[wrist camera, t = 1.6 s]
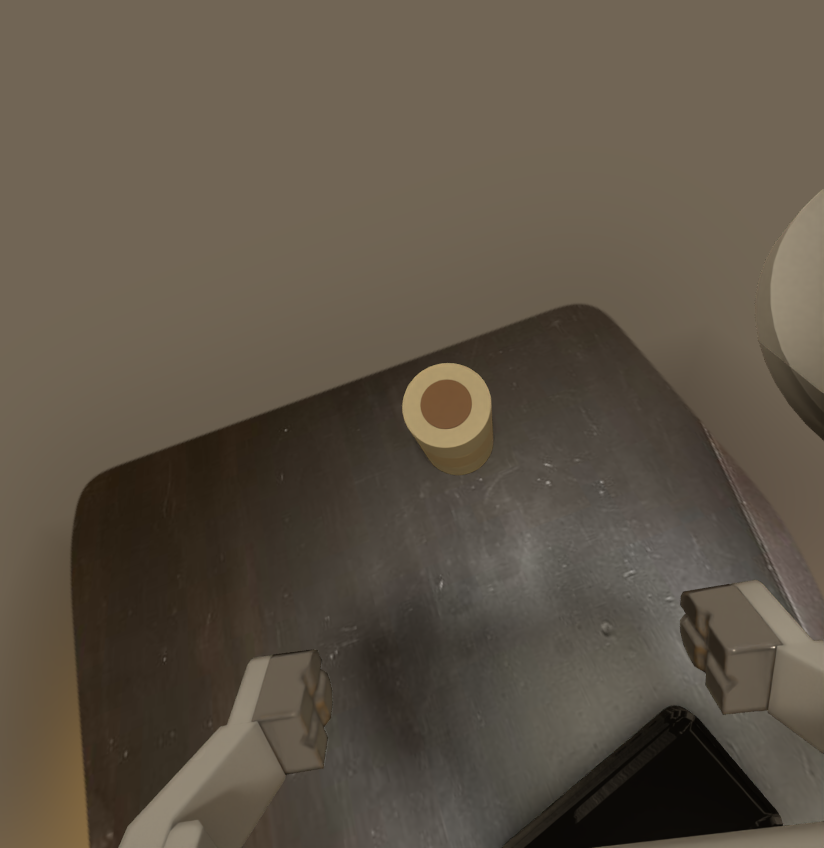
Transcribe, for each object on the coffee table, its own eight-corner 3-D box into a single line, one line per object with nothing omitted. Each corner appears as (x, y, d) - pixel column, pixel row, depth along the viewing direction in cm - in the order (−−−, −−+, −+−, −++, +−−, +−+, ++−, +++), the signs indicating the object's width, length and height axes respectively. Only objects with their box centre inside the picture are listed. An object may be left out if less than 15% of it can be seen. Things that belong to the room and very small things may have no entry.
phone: (793, 830, 28) (583, 1013, 27) (782, 820, 29) (580, 997, 28) (682, 700, 30) (488, 865, 30) (676, 695, 31) (488, 855, 31)
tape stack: (462, 394, 39) (450, 345, 30) (508, 444, 38) (510, 406, 29) (410, 438, 39) (384, 400, 30) (454, 489, 37) (440, 465, 29)
